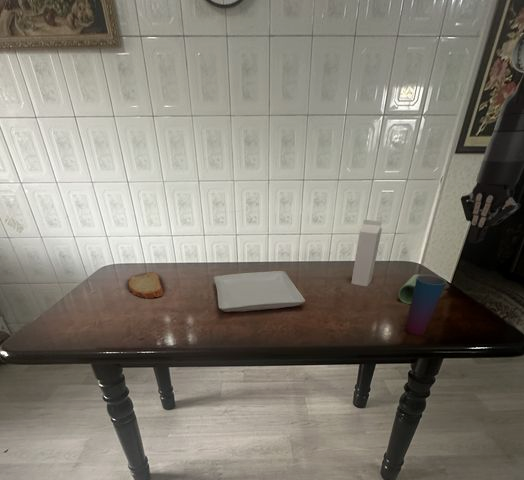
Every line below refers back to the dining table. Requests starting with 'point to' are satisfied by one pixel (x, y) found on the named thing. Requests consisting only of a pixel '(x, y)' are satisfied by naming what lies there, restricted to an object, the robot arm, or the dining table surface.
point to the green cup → (408, 290)
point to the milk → (366, 252)
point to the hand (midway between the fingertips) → (474, 241)
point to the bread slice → (146, 285)
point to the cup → (424, 302)
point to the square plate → (256, 291)
